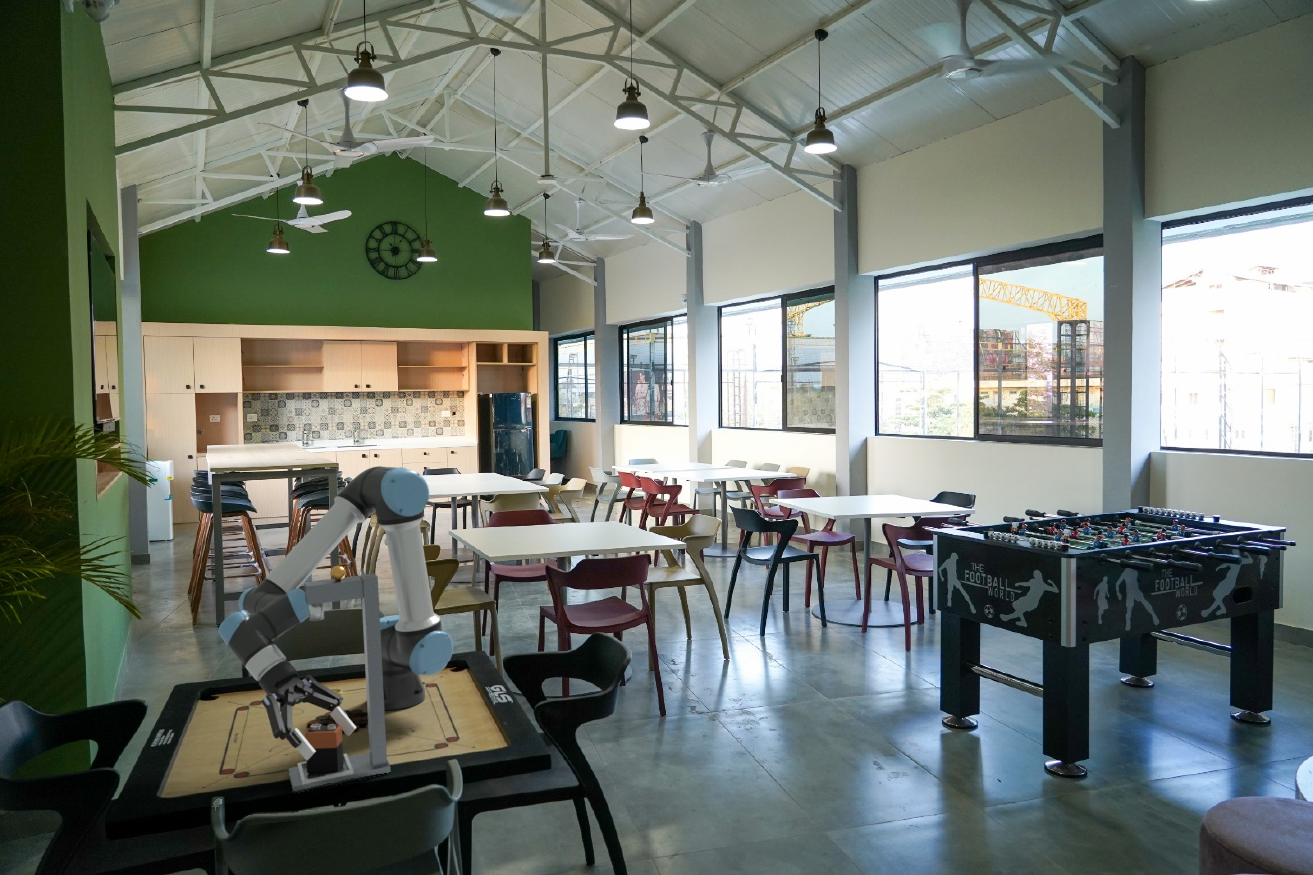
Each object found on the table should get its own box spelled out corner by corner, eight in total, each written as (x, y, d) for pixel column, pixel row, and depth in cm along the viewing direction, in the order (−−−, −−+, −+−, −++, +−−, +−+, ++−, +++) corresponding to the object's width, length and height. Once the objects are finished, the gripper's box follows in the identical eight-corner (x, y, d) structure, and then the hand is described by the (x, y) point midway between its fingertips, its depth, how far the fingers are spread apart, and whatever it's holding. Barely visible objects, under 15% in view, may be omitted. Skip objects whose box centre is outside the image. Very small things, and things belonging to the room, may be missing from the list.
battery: (313, 766, 201) (311, 721, 201) (344, 765, 202) (342, 720, 201) (306, 774, 197) (303, 729, 196) (337, 773, 197) (335, 728, 197)
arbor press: (289, 775, 201) (277, 567, 198) (382, 756, 210) (372, 557, 207) (293, 793, 191) (281, 576, 189) (390, 772, 200) (380, 565, 198)
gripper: (301, 664, 215) (358, 733, 211) (220, 700, 191) (282, 778, 187) (319, 644, 213) (377, 712, 209) (239, 677, 189) (302, 755, 185)
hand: (332, 743), depth 198 cm, fingers open, 13 cm apart
